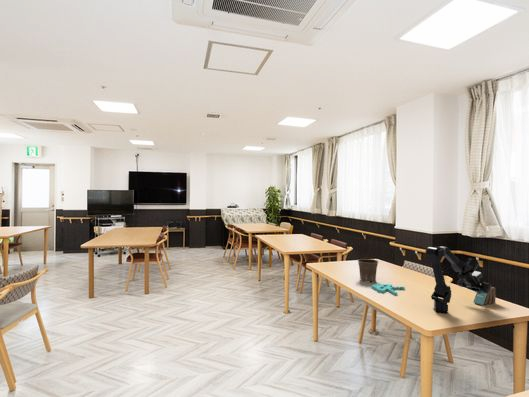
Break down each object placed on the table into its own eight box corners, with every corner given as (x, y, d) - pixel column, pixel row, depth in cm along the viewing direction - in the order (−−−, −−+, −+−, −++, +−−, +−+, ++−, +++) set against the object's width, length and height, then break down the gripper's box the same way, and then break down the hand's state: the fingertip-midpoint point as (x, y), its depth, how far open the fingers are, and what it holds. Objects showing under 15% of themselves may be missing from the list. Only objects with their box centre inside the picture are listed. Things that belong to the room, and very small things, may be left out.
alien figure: (404, 289, 234) (377, 285, 247) (404, 286, 234) (377, 282, 247) (396, 296, 219) (368, 290, 231) (396, 293, 219) (368, 287, 231)
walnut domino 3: (493, 303, 202) (493, 288, 202) (485, 301, 207) (485, 286, 207) (495, 303, 203) (495, 287, 203) (487, 300, 207) (487, 285, 207)
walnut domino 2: (489, 304, 201) (490, 288, 201) (481, 301, 205) (482, 286, 206) (491, 304, 201) (492, 288, 202) (483, 301, 206) (484, 286, 206)
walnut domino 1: (485, 304, 199) (488, 288, 200) (477, 301, 204) (480, 286, 205) (487, 304, 200) (490, 289, 201) (479, 302, 204) (482, 287, 206)
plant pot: (378, 283, 249) (378, 263, 249) (357, 281, 255) (357, 261, 255) (378, 278, 265) (378, 259, 265) (358, 277, 270) (358, 258, 270)
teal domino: (481, 304, 198) (486, 289, 200) (473, 301, 202) (478, 287, 204) (483, 305, 198) (488, 291, 200) (475, 303, 203) (480, 288, 205)
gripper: (489, 270, 190) (501, 287, 194) (460, 264, 208) (471, 279, 212) (480, 285, 187) (492, 301, 192) (451, 277, 205) (463, 292, 209)
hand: (480, 293), depth 201 cm, fingers closed
